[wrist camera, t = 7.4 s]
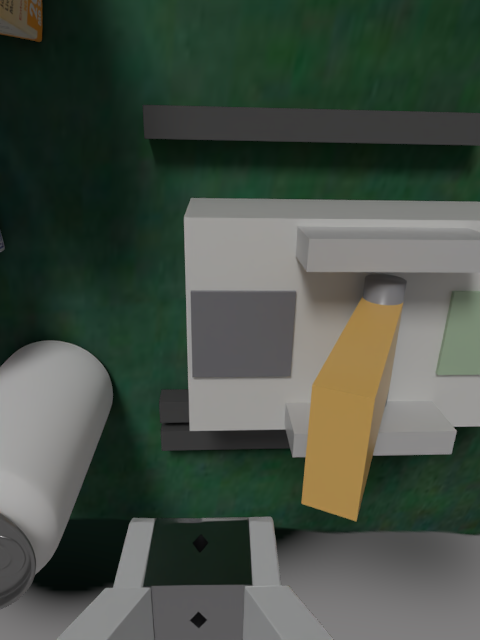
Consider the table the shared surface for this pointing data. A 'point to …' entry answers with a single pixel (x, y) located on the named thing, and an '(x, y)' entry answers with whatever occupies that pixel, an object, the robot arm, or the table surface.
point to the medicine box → (1, 243)
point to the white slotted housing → (330, 312)
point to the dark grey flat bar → (182, 438)
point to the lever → (352, 400)
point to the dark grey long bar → (310, 125)
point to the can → (44, 451)
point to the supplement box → (21, 19)
